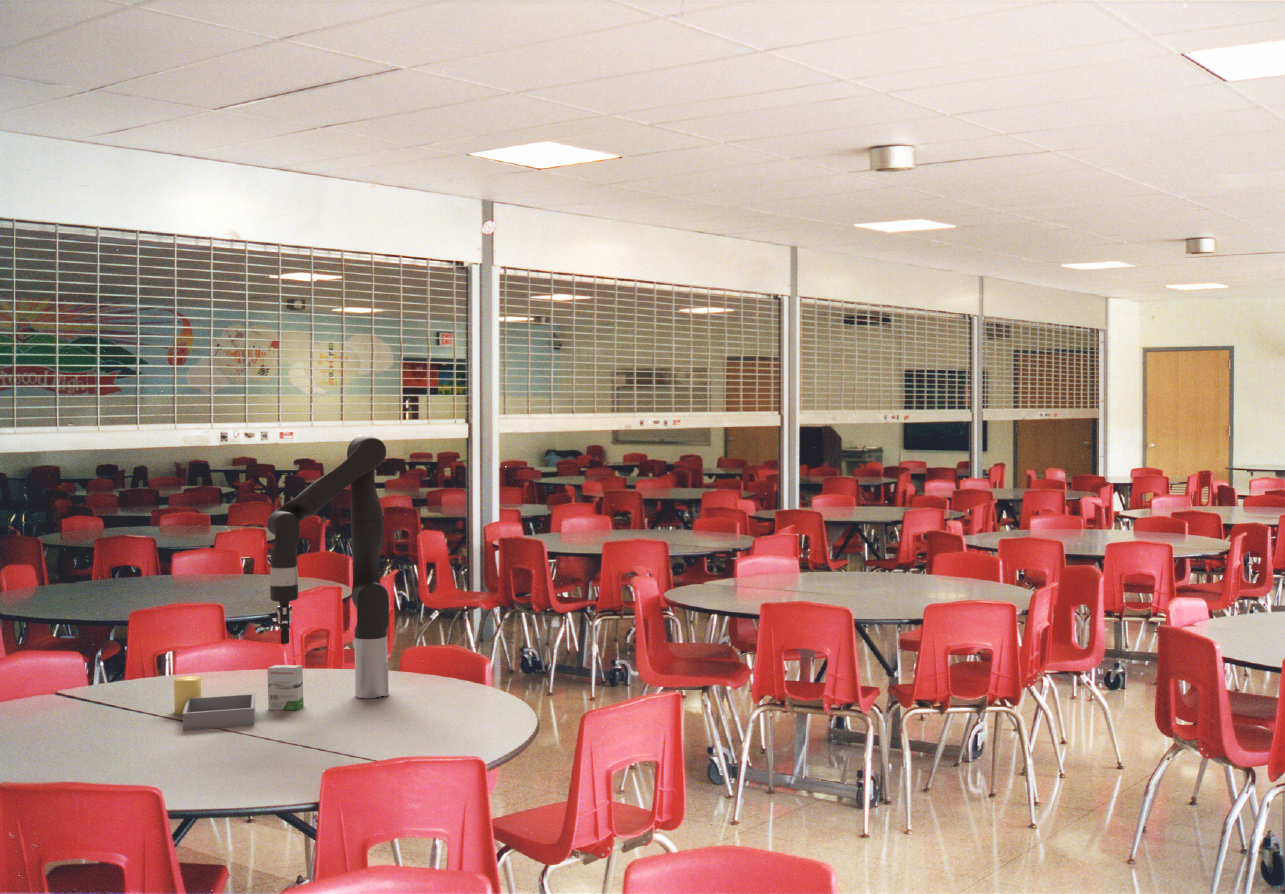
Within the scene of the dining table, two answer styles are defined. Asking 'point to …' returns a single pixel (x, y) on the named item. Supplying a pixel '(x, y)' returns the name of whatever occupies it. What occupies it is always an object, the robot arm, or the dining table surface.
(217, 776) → the dining table surface
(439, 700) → the dining table surface
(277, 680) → the ink box
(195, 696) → the yellow rounded cylinder
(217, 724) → the bus tub
